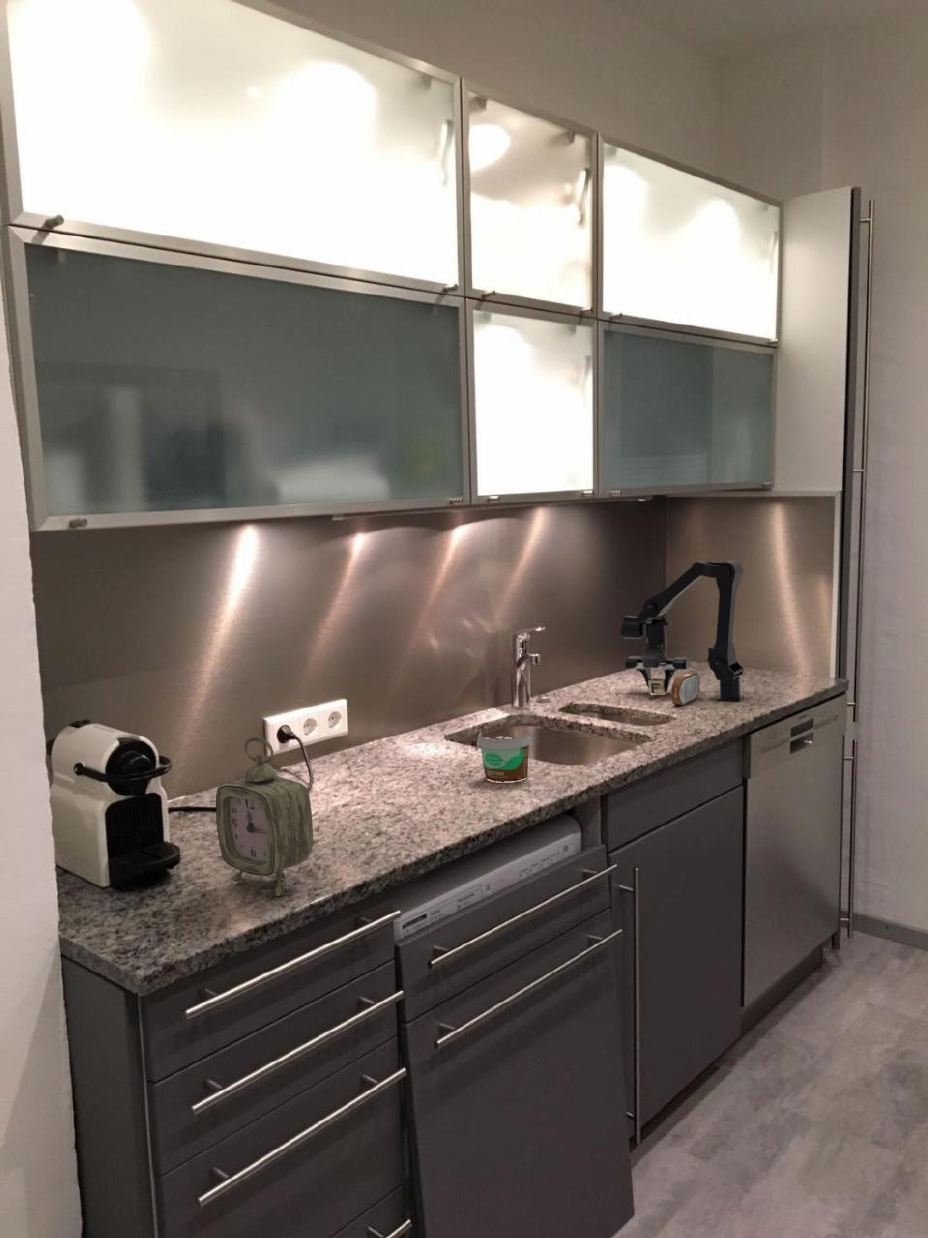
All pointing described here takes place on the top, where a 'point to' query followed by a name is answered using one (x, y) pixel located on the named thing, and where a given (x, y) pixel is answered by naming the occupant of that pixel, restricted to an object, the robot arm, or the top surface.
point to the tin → (685, 688)
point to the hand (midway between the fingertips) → (658, 690)
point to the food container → (505, 757)
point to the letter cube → (657, 685)
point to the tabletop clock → (264, 821)
